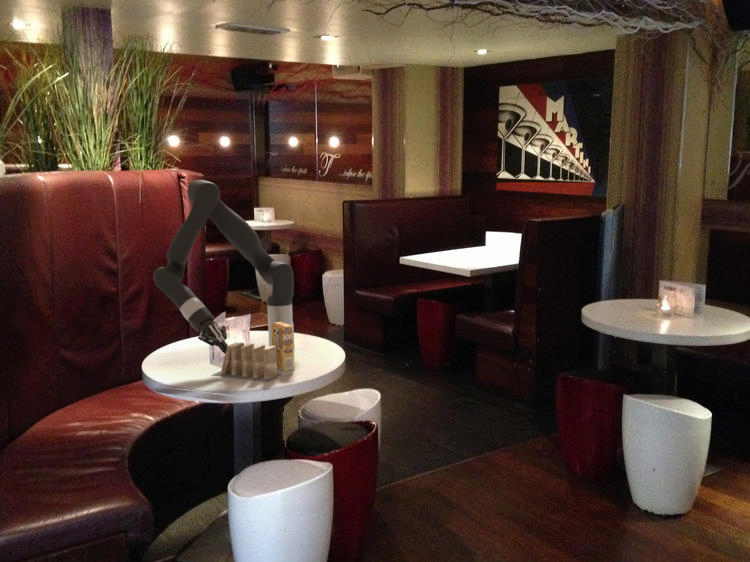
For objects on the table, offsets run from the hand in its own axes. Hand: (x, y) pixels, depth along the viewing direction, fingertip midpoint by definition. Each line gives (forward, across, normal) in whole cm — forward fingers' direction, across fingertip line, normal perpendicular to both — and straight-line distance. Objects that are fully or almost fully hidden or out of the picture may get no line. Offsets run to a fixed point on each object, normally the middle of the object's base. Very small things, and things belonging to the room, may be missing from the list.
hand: (228, 352), depth 239 cm
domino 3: (+10, 0, -1) cm, 11 cm away
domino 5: (+17, 0, -7) cm, 18 cm away
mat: (+10, 0, 0) cm, 10 cm away
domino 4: (+14, 0, -4) cm, 14 cm away
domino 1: (+4, 0, +5) cm, 7 cm away
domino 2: (+8, 0, +2) cm, 8 cm away
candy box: (+15, +13, -4) cm, 20 cm away
